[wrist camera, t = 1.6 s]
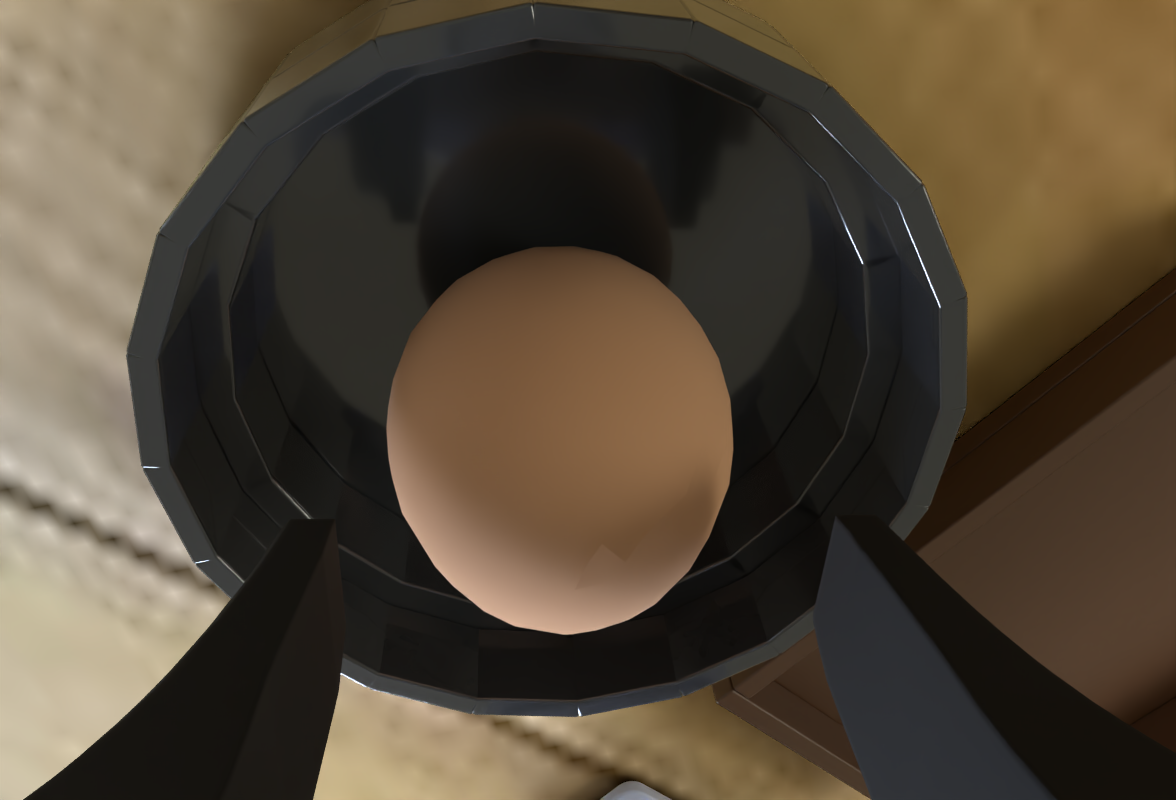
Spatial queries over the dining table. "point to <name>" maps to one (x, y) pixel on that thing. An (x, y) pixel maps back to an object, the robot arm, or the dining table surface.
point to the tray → (1042, 540)
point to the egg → (560, 438)
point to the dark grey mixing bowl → (547, 219)
